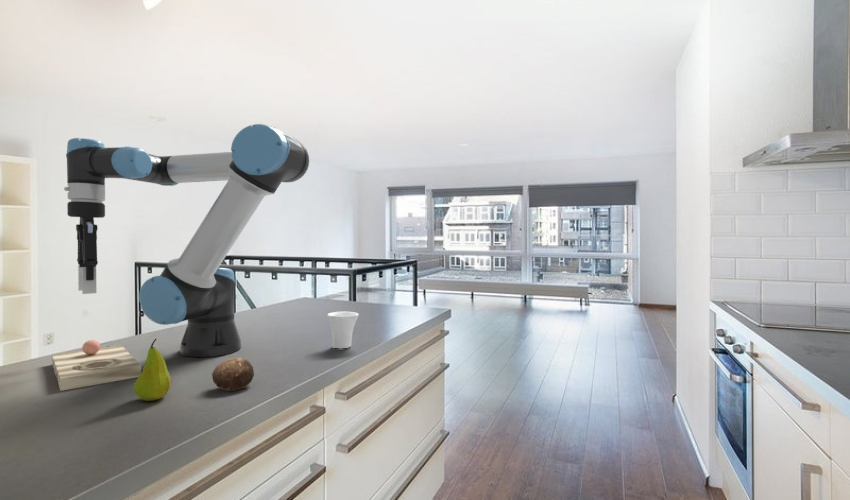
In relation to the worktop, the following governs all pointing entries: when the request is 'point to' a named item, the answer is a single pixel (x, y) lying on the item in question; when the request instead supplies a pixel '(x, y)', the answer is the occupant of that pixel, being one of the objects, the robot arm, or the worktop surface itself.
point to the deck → (94, 367)
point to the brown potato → (233, 374)
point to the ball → (91, 347)
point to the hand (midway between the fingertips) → (87, 291)
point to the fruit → (153, 377)
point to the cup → (342, 328)
